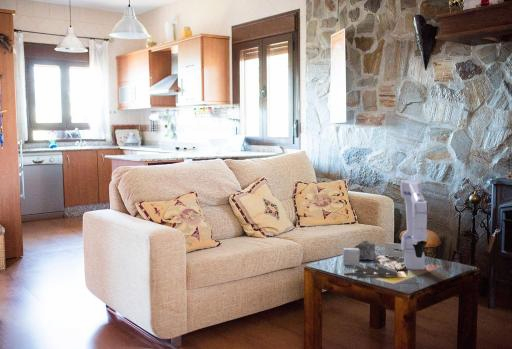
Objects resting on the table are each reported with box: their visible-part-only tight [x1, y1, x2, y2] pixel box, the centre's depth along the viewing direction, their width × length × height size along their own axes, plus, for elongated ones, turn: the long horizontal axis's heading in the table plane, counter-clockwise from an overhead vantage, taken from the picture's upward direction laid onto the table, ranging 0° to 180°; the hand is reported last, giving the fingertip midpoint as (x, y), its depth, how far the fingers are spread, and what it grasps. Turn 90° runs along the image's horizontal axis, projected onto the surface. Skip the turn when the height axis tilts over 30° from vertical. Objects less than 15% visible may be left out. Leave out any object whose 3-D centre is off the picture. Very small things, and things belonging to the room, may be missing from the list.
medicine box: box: [342, 247, 360, 266], centre depth 263 cm, size 8×4×9 cm, turn 84°
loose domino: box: [376, 263, 398, 276], centre depth 244 cm, size 2×5×9 cm
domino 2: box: [365, 263, 386, 277], centre depth 245 cm, size 2×5×9 cm
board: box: [361, 270, 408, 278], centre depth 246 cm, size 20×9×1 cm, turn 84°
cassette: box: [384, 242, 404, 258], centre depth 279 cm, size 12×2×8 cm, turn 63°
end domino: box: [343, 268, 364, 276], centre depth 246 cm, size 2×5×9 cm
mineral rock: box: [353, 240, 377, 261], centre depth 276 cm, size 13×11×10 cm
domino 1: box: [353, 262, 374, 275], centre depth 246 cm, size 2×5×9 cm
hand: (419, 257), depth 239 cm, fingers closed
